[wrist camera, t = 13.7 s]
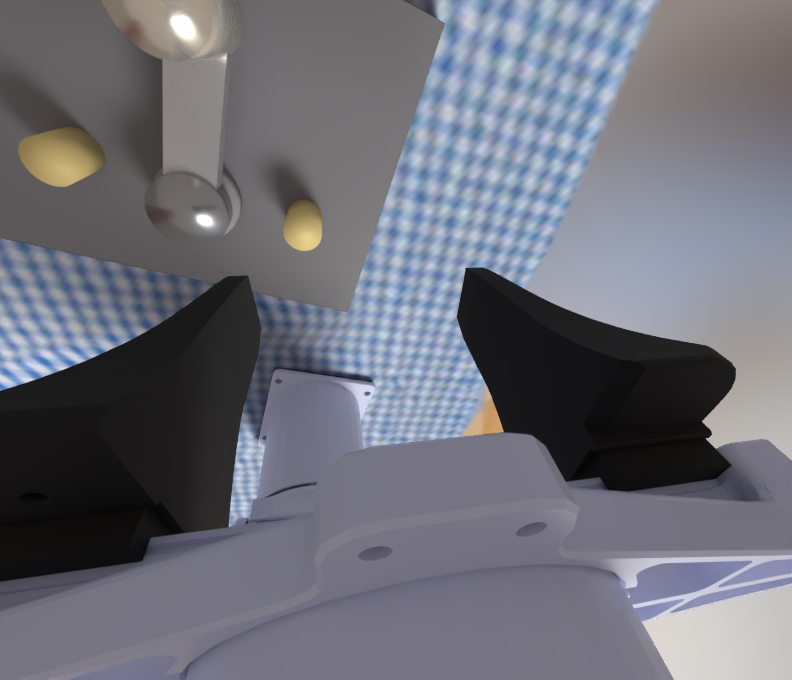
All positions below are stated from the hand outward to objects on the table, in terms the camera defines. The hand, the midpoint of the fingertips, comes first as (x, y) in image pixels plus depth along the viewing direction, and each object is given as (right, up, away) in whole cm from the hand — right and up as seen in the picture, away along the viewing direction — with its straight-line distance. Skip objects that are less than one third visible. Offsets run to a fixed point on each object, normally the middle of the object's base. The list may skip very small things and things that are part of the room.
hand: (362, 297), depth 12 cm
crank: (-7, +7, +2) cm, 10 cm away
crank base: (-8, +8, +4) cm, 13 cm away
